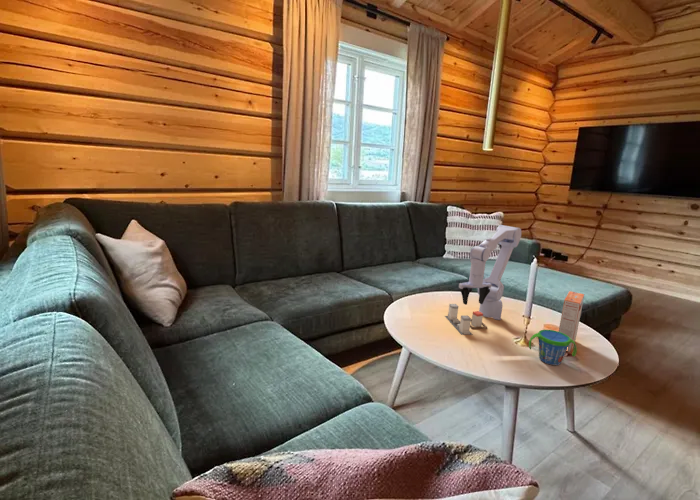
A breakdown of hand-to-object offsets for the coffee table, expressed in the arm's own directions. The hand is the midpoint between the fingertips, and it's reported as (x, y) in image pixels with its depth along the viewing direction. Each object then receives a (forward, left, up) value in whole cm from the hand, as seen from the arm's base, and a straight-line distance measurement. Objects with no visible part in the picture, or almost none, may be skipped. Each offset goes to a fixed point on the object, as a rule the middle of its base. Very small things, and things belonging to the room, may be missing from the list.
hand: (472, 303), depth 167 cm
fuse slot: (+7, +10, -9) cm, 15 cm away
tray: (-1, +3, -10) cm, 10 cm away
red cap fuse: (-1, +4, -9) cm, 10 cm away
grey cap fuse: (+7, -3, -9) cm, 12 cm away
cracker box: (-32, +20, -10) cm, 39 cm away
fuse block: (+7, +3, -10) cm, 12 cm away
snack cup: (-17, +32, -10) cm, 37 cm away
